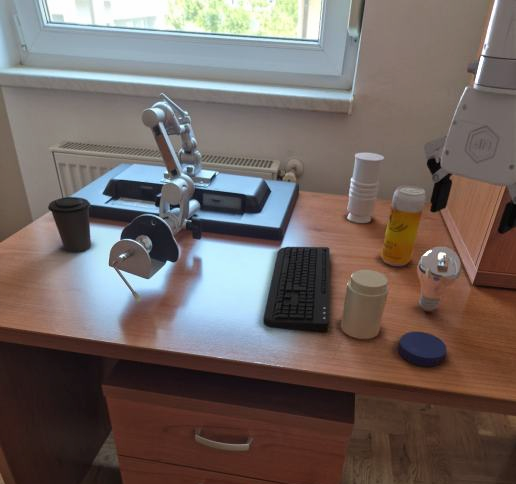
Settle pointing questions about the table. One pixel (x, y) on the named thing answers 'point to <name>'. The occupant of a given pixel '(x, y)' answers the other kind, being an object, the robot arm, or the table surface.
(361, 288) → the jar
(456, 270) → the light bulb
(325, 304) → the keyboard
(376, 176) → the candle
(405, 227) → the yellow bottle
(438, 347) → the lid
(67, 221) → the coffee cup
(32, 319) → the table surface
